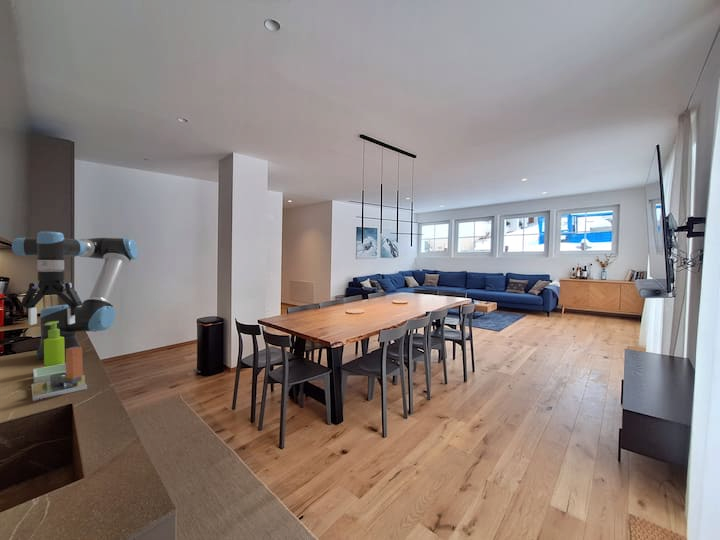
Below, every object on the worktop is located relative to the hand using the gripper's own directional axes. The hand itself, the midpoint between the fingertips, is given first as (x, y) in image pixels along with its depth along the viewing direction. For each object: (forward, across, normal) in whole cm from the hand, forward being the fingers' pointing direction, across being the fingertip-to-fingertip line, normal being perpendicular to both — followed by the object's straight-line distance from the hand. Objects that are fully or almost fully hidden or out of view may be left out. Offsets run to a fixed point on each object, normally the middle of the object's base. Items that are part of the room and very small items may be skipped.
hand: (52, 324), depth 123 cm
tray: (+19, +7, -8) cm, 22 cm away
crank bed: (+19, +16, -18) cm, 31 cm away
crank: (+17, +19, -19) cm, 32 cm away
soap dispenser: (+19, 0, 0) cm, 19 cm away
